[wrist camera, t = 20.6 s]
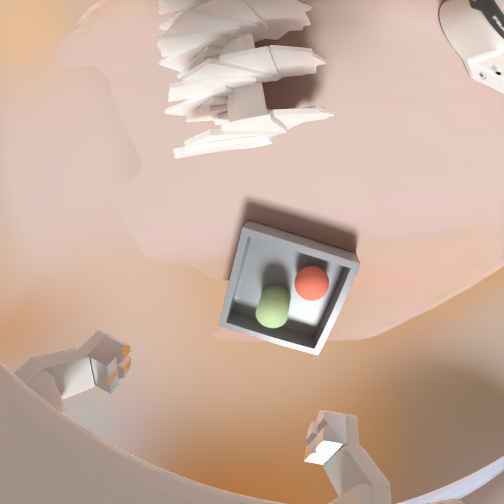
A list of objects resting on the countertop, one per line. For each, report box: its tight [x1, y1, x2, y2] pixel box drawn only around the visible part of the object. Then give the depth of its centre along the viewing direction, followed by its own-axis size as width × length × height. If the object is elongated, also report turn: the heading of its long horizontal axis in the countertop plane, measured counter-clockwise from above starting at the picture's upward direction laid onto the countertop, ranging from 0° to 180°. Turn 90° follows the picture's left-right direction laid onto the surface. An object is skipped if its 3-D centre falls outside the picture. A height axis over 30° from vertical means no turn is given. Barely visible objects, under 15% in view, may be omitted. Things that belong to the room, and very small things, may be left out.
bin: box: [219, 220, 360, 355], centre depth 40 cm, size 16×16×4 cm
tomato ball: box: [294, 266, 329, 301], centre depth 38 cm, size 5×5×5 cm
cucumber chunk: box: [256, 284, 291, 328], centre depth 40 cm, size 4×4×5 cm
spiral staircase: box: [156, 0, 335, 159], centre depth 24 cm, size 18×18×25 cm
